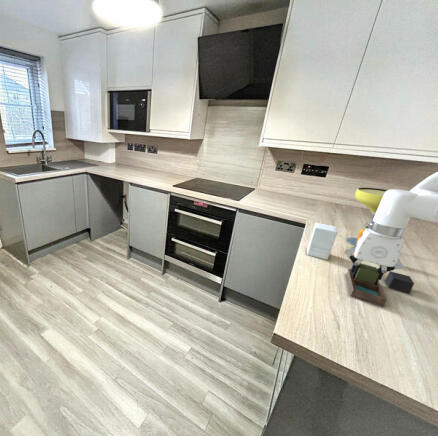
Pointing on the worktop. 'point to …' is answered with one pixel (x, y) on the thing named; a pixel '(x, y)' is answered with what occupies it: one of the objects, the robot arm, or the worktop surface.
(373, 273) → the olive green block
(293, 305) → the worktop surface
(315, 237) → the white packaging box
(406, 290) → the dark grey block
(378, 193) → the cocktail glass
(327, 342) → the worktop surface
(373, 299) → the brown divided tray
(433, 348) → the worktop surface
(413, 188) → the robot arm
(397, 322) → the worktop surface
